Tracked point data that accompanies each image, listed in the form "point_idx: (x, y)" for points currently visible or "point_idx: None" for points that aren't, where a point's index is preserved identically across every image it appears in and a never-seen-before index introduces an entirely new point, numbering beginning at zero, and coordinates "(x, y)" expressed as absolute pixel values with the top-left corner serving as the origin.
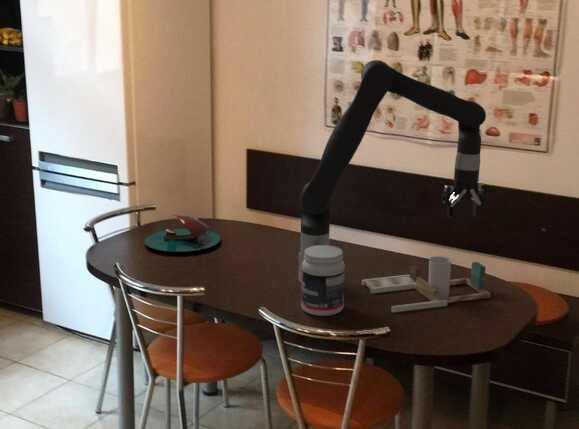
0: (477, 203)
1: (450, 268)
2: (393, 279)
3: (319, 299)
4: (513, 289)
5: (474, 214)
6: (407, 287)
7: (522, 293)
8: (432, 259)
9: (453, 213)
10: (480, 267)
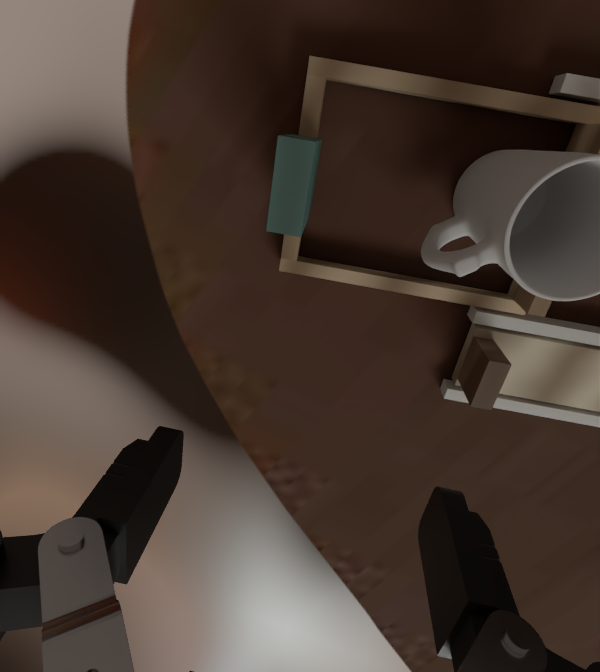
0: (98, 551)
1: (534, 165)
2: (548, 391)
3: None
4: (145, 107)
5: (175, 458)
6: (546, 319)
7: (133, 41)
8: (571, 291)
9: (448, 525)
10: (311, 143)
